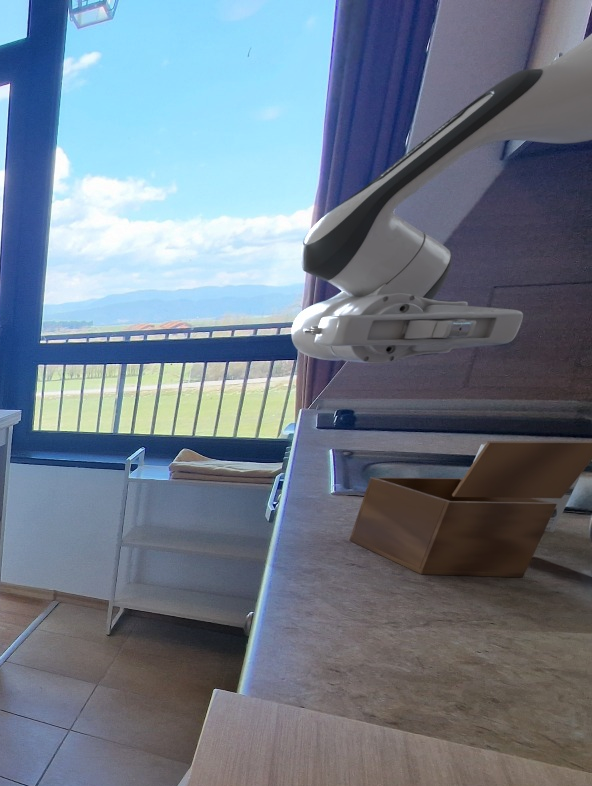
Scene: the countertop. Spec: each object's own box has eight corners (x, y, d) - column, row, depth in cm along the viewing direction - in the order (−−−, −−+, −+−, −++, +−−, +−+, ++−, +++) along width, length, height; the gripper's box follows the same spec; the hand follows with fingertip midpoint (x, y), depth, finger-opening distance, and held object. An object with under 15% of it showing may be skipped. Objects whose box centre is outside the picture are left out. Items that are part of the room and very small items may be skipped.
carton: (435, 542, 82) (460, 477, 79) (523, 577, 70) (557, 503, 67) (348, 540, 84) (370, 477, 80) (420, 574, 72) (449, 502, 69)
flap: (602, 441, 63) (605, 442, 62) (558, 496, 67) (561, 498, 66) (487, 441, 64) (490, 442, 64) (451, 495, 68) (453, 497, 68)
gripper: (303, 306, 87) (370, 302, 74) (474, 301, 83) (574, 296, 71) (289, 354, 89) (352, 359, 77) (455, 352, 86) (548, 356, 73)
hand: (460, 329), depth 74 cm, fingers closed
